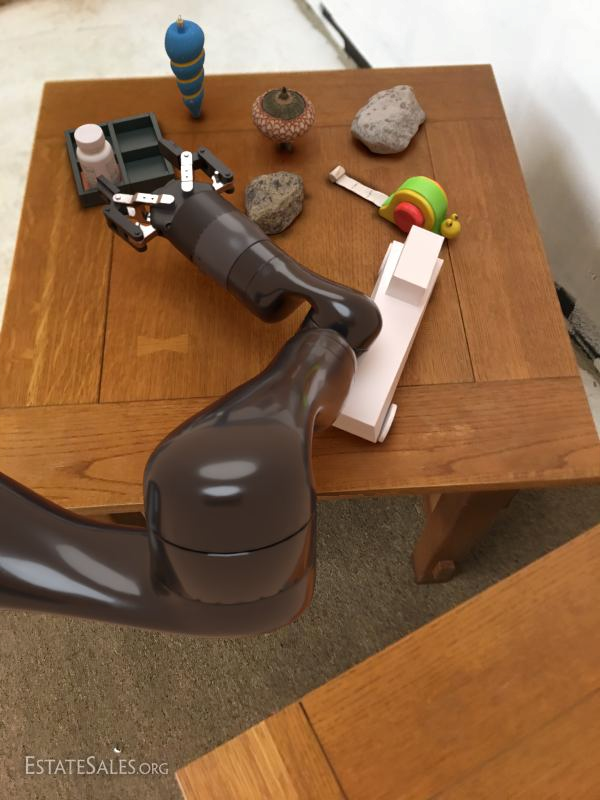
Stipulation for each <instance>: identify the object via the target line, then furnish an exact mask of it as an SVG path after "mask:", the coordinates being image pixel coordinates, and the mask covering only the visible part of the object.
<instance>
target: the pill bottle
mask: <svg viewBox="0 0 600 800" xmlns="http://www.w3.org/2000/svg"><path fill="white" fill-rule="evenodd" d="M95 124H96V123H86V124H82V125H81V126H79V127H76V128H77V129H76V131H75V133H74V137H75V140H76V143H77V146H78V147H77V150H76V153H77V157H78V160H79V162H80V165H81V168H82V170H83V173H84V176H85V178H86V181H87V184H88V186H89V187H90V188H91V189H92V188H96V187H97V186H96V183H98V182H97V179H96V178H97V177H98V176H100V175H101V174H102V175H103V176H105V177H106V178H107V179H108V180H109V181H110V182H111V183H112V184H114V183H118V182H120V173H119V170H118V167H117V164H116V160H115V157H114V154H113V151H112V148H111V145H110V144H109V142H108V141H106V140H105V137H104V134H103V131H102V129H101V128H100V127H99V126H98V125H95Z"/></svg>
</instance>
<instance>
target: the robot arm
mask: <svg viewBox="0 0 600 800" xmlns="http://www.w3.org/2000/svg"><path fill="white" fill-rule="evenodd" d="M158 146H159V151H160V154H161V155H162V156H163V157H164V158H165V159H166V160H167V161H169V162H170V163H171V165H172V167H174V168H175V169H177V170H178V171H179V172H180V174H181V175H180V176H181V178H178V179H176V180H175V179H172V180H171V181H169V182H168V183H167V184H166V185H165V186H164V187H162V188H159V189H157V190H155V191H153V192H151V193H147V194H145V193H136V194H135V195H127V194H121V191H120V190H119V189H118V188H117V187H116V186H115V185H113V184H112V183H111V182H110V181H109V180H108V179H107V178H106V177H105V176H103V175H102V174H101V175H100V176H98V177H97V178H96V179H97V182H98V183H96V186H97V189H98V191H99V194H100V197H101V198H102V199H104V200H105V201H106V202H107V203H106V205H104V206H103V207H102V209H101V210H102V214H103V215H104V218H105V222H106V224H107V228H108V229H110V230H111V231H112V232H113V233H115V234H116V235H117V236H118V237H119V238H120V239H122V240H123V241H124V242H126V243H127V244H128V245H129V246H130V247H132V248H133V250H135V251H137V252H138V253H145V252H146V251H148V245H147V244H148V243H150V242H151V241H152V240H153V239H155V238H156V237H160V238H164V239H166V240H167V241H168V242H169V243H170V244H171V245H172V246H173V247H174V248H175V250H177V251H178V252H179V253H180V254H182V256H184V257H185V258H186V259H187V260H188V261H190V263H191V264H193V265H194V266H195V268H197V269H198V271H199V272H200V273H201V274H202V275H203V276H205V277H207V278H208V279H209V280H210V281H212V283H214V284H215V285H217V286H218V287H219V288H221V289H222V290H224V291H225V292H227V293H229V295H230V296H231V297H233V298H234V299H235V300H236V301H237V302H238V303H239V304H241V306H243V307H244V308H245V309H246V310H247V311H248V312H249V313H251V314H252V315H253V316H254V317H255V318H257V319H258V320H259V321H261V322H263V323H265V324H269V325H275V324H279V323H281V322H283V321H284V320H286V319H287V318H288V317H290V316H291V315H293V314H294V312H296V310H297V309H299V308H300V307H301V305H303V304H304V303H305V302H306V303H308V304H309V305H310V307H309V310H308V311H307V313H306V314H305V316H304V318H303V319H302V320H301V322H300V324H299V326H298V328H297V329H296V330H295V333H294V334H293V335H292V336H291V337H289V339H287V340H286V341H285V343H284V344H283V345H282V346H281V347H280V348H279V350H278V351H277V352H276V354H275V355H274V356H273V358H272V359H271V360H270V361H269V363H268V364H267V366H266V367H265V368H264V369H262V371H260V372H259V373H257V374H255V375H254V376H253V377H251V378H250V379H248V380H246V381H245V382H243V383H241V384H240V385H238V386H236V387H234V388H233V389H231V390H229V391H228V392H226V393H225V394H223V395H221V396H220V397H219V398H217V399H216V400H215V401H213V402H212V403H210V404H209V405H207V406H205V407H203V408H202V409H201V410H199V411H198V412H196V413H195V414H193V415H191V416H190V417H188V418H187V419H185V420H184V421H183V422H181V423H180V424H178V425H177V426H176V427H175V428H173V429H172V430H171V431H170V432H169V433H168V434H167V435H165V437H164V438H163V439H162V440H161V441H160V442H159V443H158V444H157V445H156V446H155V448H154V449H153V450H152V452H151V453H150V455H149V457H148V459H147V461H146V463H145V466H144V470H143V476H142V499H143V510H144V511H143V512H144V513H143V514H144V518H145V526H146V527H145V526H137V525H130V524H121V523H115V522H109V521H105V520H104V521H103V520H101V519H100V520H99V519H96V518H92V517H88V516H85V515H83V514H79V513H77V512H74V511H72V510H70V509H67V508H65V507H63V506H62V505H59V504H58V503H55V502H54V501H52V500H50V499H49V498H47V497H45V496H44V495H41V494H39V493H38V492H36V491H34V490H33V489H31V488H29V487H27V486H26V485H24V484H23V483H22V482H19V481H18V480H16V479H14V478H12V477H11V476H9V475H8V474H6V473H4V472H2V471H0V611H4V612H15V613H17V612H18V613H27V614H28V613H29V614H38V615H47V616H53V617H55V616H56V617H62V618H69V619H75V620H82V621H88V622H93V623H100V624H106V625H112V626H118V627H123V628H128V629H133V630H134V629H136V630H141V631H145V632H146V631H147V632H153V633H159V634H165V635H171V636H179V637H187V638H197V639H198V638H199V639H205V640H206V639H207V640H208V639H209V640H235V639H247V638H255V637H258V636H259V637H260V636H262V635H266V634H271V633H274V632H276V631H278V630H280V629H282V628H285V627H287V626H289V625H291V624H292V623H293V622H295V621H296V620H297V619H298V618H300V617H301V616H302V615H304V613H305V611H306V610H307V608H308V607H309V606H310V604H311V602H312V600H313V598H314V595H315V590H316V589H315V588H316V584H317V583H316V582H317V547H318V545H317V543H318V542H317V540H318V539H317V538H318V537H317V536H318V535H317V534H318V533H317V532H318V529H317V528H318V524H317V523H318V521H317V520H318V506H317V504H318V490H317V489H318V488H317V482H316V478H315V472H314V467H313V437H314V436H316V435H318V434H321V433H323V432H325V431H326V430H327V429H329V428H330V427H331V426H333V425H332V424H333V423H334V422H335V421H336V420H337V419H338V417H339V416H340V414H341V412H342V411H343V409H344V407H345V405H346V402H347V400H348V398H349V395H350V393H351V390H352V387H353V385H354V382H355V378H356V372H357V367H358V365H359V364H360V362H361V361H362V360H363V358H364V357H365V355H366V354H367V352H368V351H369V349H370V348H371V347H372V345H373V344H374V342H375V341H376V339H377V338H378V336H379V335H380V333H381V330H382V327H383V319H382V315H381V312H380V310H379V308H378V306H377V305H376V303H375V302H374V301H373V300H372V299H371V296H369V295H367V294H366V293H364V292H362V291H360V290H358V289H356V288H353V287H351V286H349V285H346V284H343V283H340V282H337V281H335V280H333V279H330V278H327V277H326V276H324V275H322V274H320V273H317V272H316V271H313V270H312V269H310V268H308V267H307V266H304V265H303V264H302V263H300V262H299V261H297V260H296V259H295V258H293V256H291V255H290V254H288V253H287V252H286V251H285V250H284V249H282V247H280V246H279V245H278V244H277V243H275V241H273V240H272V239H271V238H270V237H269V236H268V234H266V233H265V232H264V231H263V230H262V229H261V228H260V227H259V226H258V225H256V224H255V223H254V222H253V221H252V220H250V219H249V218H248V215H247V214H244V213H243V212H242V211H241V210H240V209H239V208H237V207H236V206H235V205H234V204H232V203H231V202H230V201H229V200H228V199H227V198H226V197H224V196H223V195H222V194H223V193H225V194H227V195H232V194H234V193H235V192H236V187H235V178H234V172H233V171H232V170H231V169H230V168H229V167H228V166H227V165H226V164H224V163H223V161H221V160H220V159H219V158H218V157H217V156H216V155H215V154H214V153H212V151H210V149H208V148H207V147H205V146H199V147H198V148H197V149H196V151H195V152H191V151H187V150H186V151H185V150H184V149H183V148H182V147H181V146H180V145H178V144H177V143H176V142H175V141H174V140H171V139H166V138H164V137H162V139H160V140H159V141H158ZM198 170H200V171H202V172H203V174H205V175H206V176H207V177H208V178H209V179H210V180H211V181H212V184H211V183H210V182H205V181H197V180H196V174H195V173H196V172H195V171H198ZM146 206H147V207H149V211H148V210H147V209H146ZM132 220H135V221H136V222H133V221H132ZM143 224H144V225H143Z"/></svg>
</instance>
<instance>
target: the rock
mask: <svg viewBox="0 0 600 800" xmlns="http://www.w3.org/2000/svg"><path fill="white" fill-rule="evenodd" d="M304 185H305V184H304V180H303V179H302V177H301V176H300V175H298V173H292V172H288V171H285V170H282V171H278V172H276V173H274V172H271V173H268V174H260V175H259V176H256V177H254V178H253V179H252V180H250V182H249V183H248V184H246V186H245V187H244V189H245V190H244V197H245V198H244V208H245V210H246V216H247V217H248V218H249V219H250V220H252V221H253V222H254V223H255V224H256V225H258V226H259V227H260V228H261V229H262V230H263V231H264V232H265V234H266V235H275V234H276V235H277V234H280V233H282V232H283V231H285V229H286V228H288V227H289V226H290V225H291V223H292V222H293V221H294V220H295V219H296V217H298V215H299V214H300V213H301V212H302V211H303V207H304V206H303V201H304V198H305V197H304V196H305V192H304Z"/></svg>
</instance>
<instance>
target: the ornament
mask: <svg viewBox="0 0 600 800" xmlns="http://www.w3.org/2000/svg"><path fill="white" fill-rule="evenodd" d="M205 40H206V39H205V33H204V31H203V28H202V27H201V26H200V25H199V24H197V23H196V22H195V21H192V20H188V19H184V18H182V16H181V14H179V16H178V17H177V19H176V21H174V22H172V23H171V24H170V25H169V26H168V27H167V29H166V31H165V35H164V50H165V54H166V55H167V57H168V58H169V60H170V61H169V65H170V69H171V71H172V73H173V74H174V76H175V77H176V86H177V88H178V89H179V91H180V93H181V95H182V102H183V104H184V106H185V107H186V108H187V109H188V110H189V112H190V113H191V115H192V116H193V118H195V119H198V118H199V117H200V116H201V110H202V106H203V102H204V96H205V87H204V80H205V68H204V65H205V61H206V51H205V48H204V46H205V42H206V41H205Z"/></svg>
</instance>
